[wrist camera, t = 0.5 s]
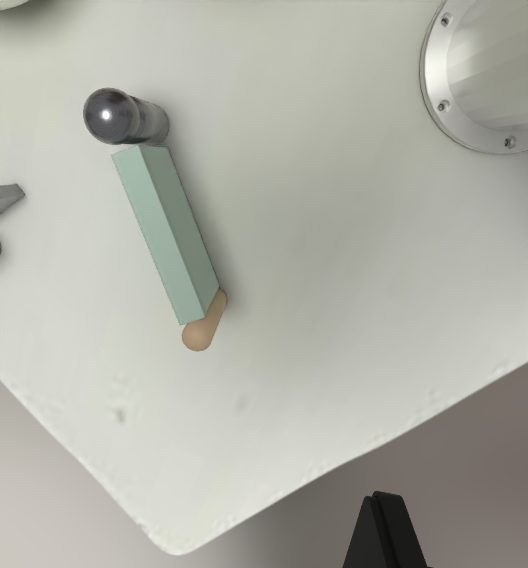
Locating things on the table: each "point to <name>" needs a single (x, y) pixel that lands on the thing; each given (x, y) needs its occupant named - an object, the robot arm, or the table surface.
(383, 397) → the table surface
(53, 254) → the table surface
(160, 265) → the gate
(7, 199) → the post
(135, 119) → the hinge post
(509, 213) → the table surface
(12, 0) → the lidded jar
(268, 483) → the table surface
